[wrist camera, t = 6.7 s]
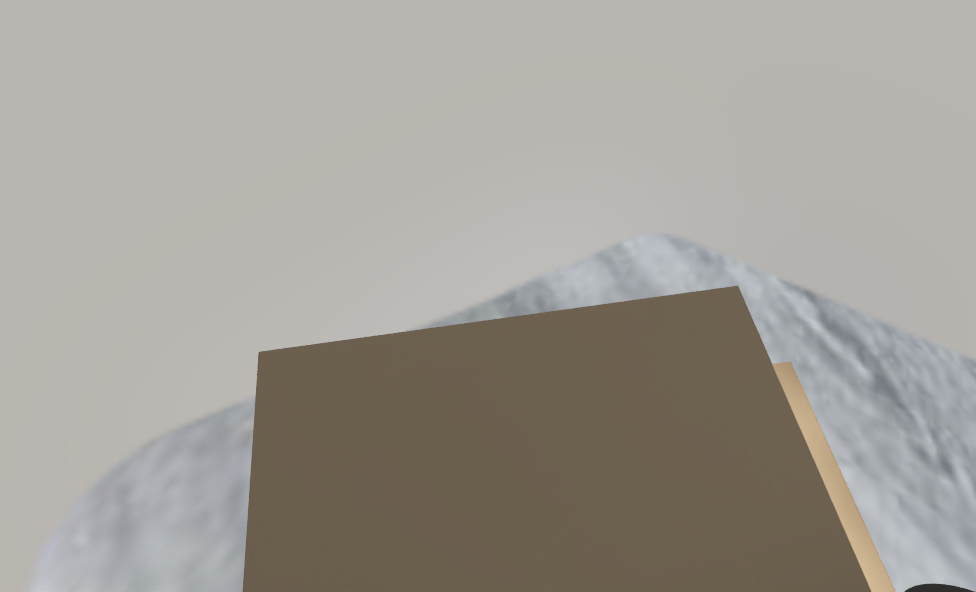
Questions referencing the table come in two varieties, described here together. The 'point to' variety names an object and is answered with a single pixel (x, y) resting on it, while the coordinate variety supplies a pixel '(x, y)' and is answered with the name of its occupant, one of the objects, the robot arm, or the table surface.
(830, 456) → the rest block
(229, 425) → the table surface
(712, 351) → the column
